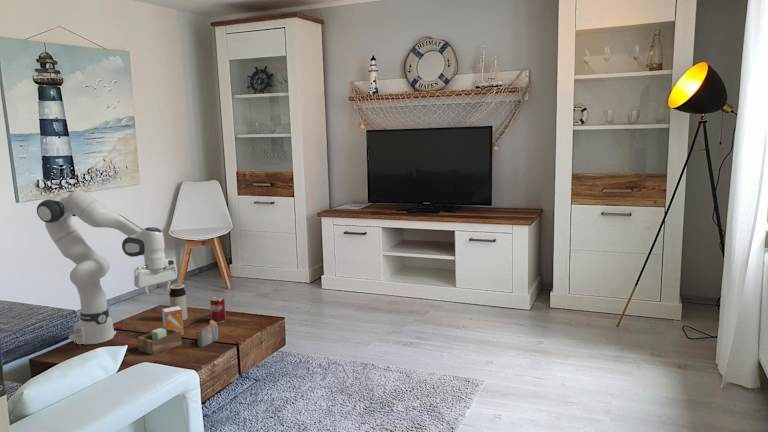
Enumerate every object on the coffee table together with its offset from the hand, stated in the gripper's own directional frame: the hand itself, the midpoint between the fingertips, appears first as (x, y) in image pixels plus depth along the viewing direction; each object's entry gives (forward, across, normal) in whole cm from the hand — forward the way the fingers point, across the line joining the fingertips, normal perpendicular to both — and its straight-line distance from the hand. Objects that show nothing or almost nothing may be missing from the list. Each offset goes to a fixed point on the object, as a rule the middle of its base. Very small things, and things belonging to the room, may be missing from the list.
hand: (157, 292), depth 267 cm
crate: (+25, -1, -2) cm, 25 cm away
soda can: (+25, +37, +4) cm, 45 cm away
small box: (+25, +12, +7) cm, 29 cm away
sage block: (+24, -1, -2) cm, 24 cm away
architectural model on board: (+25, +14, -16) cm, 33 cm away
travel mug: (+25, +28, +24) cm, 45 cm away
